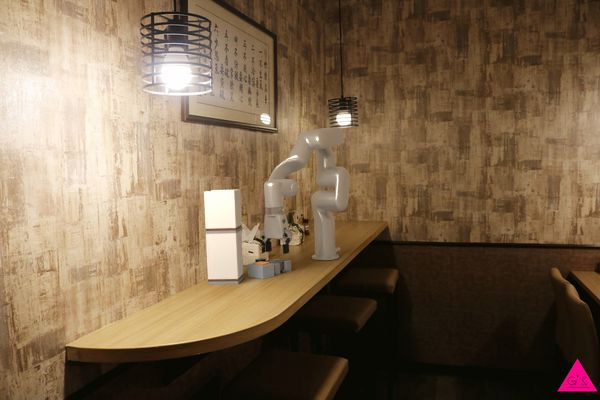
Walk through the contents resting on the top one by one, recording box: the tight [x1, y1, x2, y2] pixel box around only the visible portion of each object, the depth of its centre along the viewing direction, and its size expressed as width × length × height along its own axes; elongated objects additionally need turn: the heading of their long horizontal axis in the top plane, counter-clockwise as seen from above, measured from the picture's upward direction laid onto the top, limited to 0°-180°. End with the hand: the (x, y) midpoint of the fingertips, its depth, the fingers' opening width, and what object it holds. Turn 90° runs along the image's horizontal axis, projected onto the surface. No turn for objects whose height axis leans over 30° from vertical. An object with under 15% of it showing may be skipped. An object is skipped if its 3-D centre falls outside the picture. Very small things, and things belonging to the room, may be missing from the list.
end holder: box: [247, 261, 275, 280], centre depth 204 cm, size 6×8×5 cm
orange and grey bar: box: [253, 258, 291, 271], centre depth 209 cm, size 17×5×5 cm, turn 140°
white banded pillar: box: [203, 188, 245, 286], centre depth 196 cm, size 11×11×35 cm
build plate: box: [254, 257, 268, 263], centre depth 220 cm, size 12×7×5 cm, turn 136°
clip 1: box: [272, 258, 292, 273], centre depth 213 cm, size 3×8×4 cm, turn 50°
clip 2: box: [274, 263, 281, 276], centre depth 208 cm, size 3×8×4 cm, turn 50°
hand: (277, 252), depth 211 cm, fingers open, 9 cm apart
